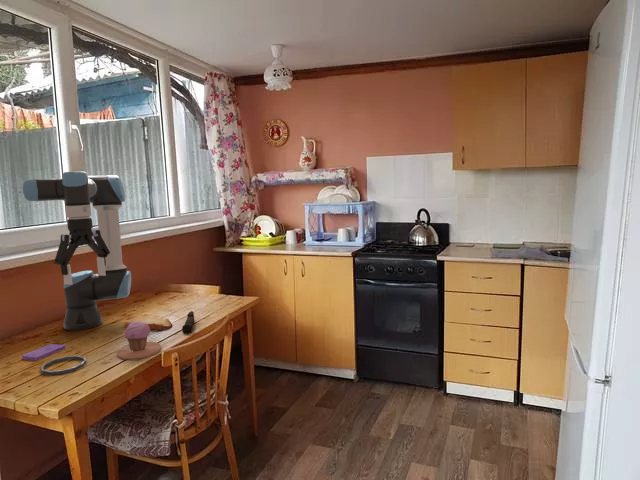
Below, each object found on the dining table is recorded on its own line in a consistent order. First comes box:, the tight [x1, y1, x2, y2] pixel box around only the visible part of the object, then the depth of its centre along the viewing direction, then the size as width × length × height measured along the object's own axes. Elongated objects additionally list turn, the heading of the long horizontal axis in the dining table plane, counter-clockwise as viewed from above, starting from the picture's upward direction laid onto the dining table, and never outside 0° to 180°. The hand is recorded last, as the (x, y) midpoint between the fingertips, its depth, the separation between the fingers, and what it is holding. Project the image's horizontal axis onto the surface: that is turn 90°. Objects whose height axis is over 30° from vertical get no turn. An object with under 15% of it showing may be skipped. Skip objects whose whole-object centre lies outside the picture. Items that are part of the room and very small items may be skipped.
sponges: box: [21, 343, 66, 361], centre depth 171 cm, size 7×13×2 cm, turn 161°
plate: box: [116, 341, 162, 361], centre depth 169 cm, size 15×15×1 cm
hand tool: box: [181, 311, 195, 335], centre depth 196 cm, size 19×4×5 cm, turn 7°
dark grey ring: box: [40, 355, 87, 376], centre depth 157 cm, size 13×13×1 cm
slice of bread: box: [123, 317, 173, 332], centre depth 197 cm, size 18×18×4 cm
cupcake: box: [124, 322, 151, 351], centre depth 168 cm, size 9×9×10 cm
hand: (85, 279), depth 159 cm, fingers open, 13 cm apart
